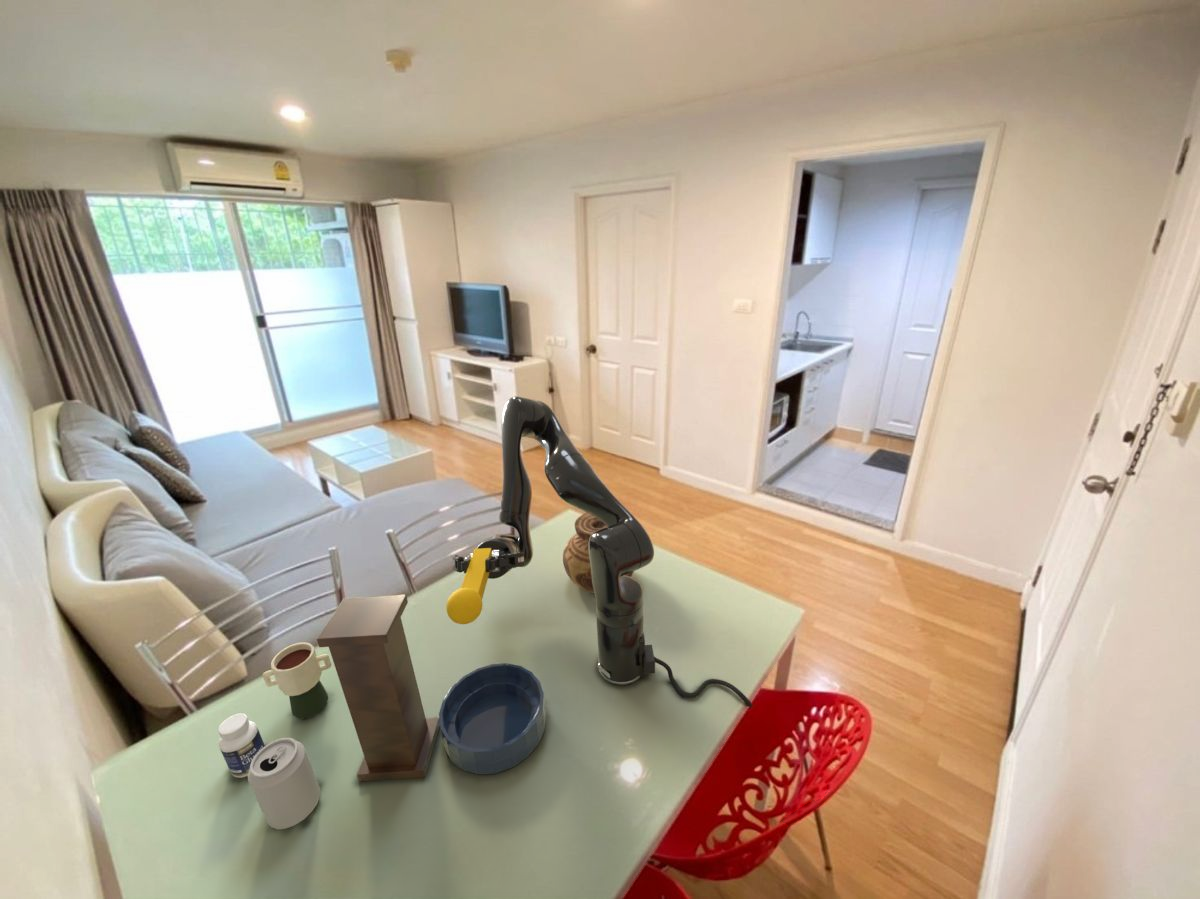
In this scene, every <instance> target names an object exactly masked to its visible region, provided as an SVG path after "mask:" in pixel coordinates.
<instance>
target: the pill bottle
mask: <svg viewBox="0 0 1200 899" xmlns="http://www.w3.org/2000/svg"><path fill="white" fill-rule="evenodd" d="M217 729H218V734H219V737H220V738H219V740H218V747H219V750H220V753H221V754H222V757H223V759H224V761H225V763H226V765H227V767H228V769H229V772H230V774H231V775H232V776H233V777H235V778H237V779H238V778H245V777H248V773H249V770H250V765H251V762H252V760H253V758H254V756H255V755H256V754H257V753H258V752H259V751H260V750H261V749H262V748H263V747H265V746H266V744H265V742H264V740H263V738H262V735H261V734H260V730H259V728H258V725H257V723H255V722H254V721H252V720H249V718H248V716H247V715H246V714H245V713H242V712H241V713H235V714H233V715H231V716H229V717H227V718H226V719H224V720H223V721H222V722H221V723H220V724H219V727H218V728H217Z"/></svg>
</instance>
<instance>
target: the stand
mask: <svg viewBox="0 0 1200 899" xmlns="http://www.w3.org/2000/svg"><path fill="white" fill-rule="evenodd" d="M408 604H409V601H408V597H407V594H396V595H395V594H392V595H377V596H359V597H344V598H343V599H342V600H341V602H340V603H339V605H338V606H337V608H336V609H335V611H334V612H333V614H332V615H331V617H330V618H329V620H328V621H327V623H326V624H325V625H324V627H323V629H322V630H321V631H320V633H319V634H318V636H317V638H316V642H317V645H318V647H319V648H328V651H329V653H330V656H331V659H332V661H333V662H332V663H333V665H334V668H335V671H336V674H337V678H338V681H339V683H340V686H341V690H342V694H343V695H344V698H345V702H346V705H347V707H348V712H349V714H350V717H351V720H352V723H353V725H354V730H355V732H356V735H357V736H356V737H357V739H358V742H359V744H360V748H361V751H362V753H363V759H362V762H361V765H360V767H359V768H358V772H357V773H356V777H357V780H358V782H367V781H368V782H369V781H382V780H383V781H384V780H396V779H397V780H398V779H414V778H426V774H427V772H428V768H429V765H430V761H431V758H432V754H433V751H434V748H435V744H436V741H437V738H438V734H439V731H440V722H439V717H427V718H426V714H425V710H424V705H423V702H422V698H421V694H420V689H419V684H418V682H417V677H416V674H415V669H414V665H413V661H412V657H411V653H410V649H409V646H408V645H409V644H408V641H407V637H406V633H405V628H404V625H403V621H402V616H403V613H404V612H405V610H406V608H407V605H408Z"/></svg>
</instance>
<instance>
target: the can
mask: <svg viewBox="0 0 1200 899" xmlns="http://www.w3.org/2000/svg"><path fill="white" fill-rule="evenodd" d="M247 781H248V785H249V786H250V788H251V791H252V793H253V794H254V797H255V799H256V802H257V803H258V805H259V808H260V810H261V812H262V814H263V816H264V818H265V820H266V823H267V824H268V825H269V826H270V828H272V829H275V830H286V829H288V828H291V827H294V826H296V825H298V824H299V823H301V822H303V821H304V820H305V819H306V818H307V817H309V815H310V814H311V813H312V812H313V811H314V809H315V808H316V807H317V805H318V803H319V800H320V799H321V791H322V789H321V787H320V784H319V782H318V779H317V776H316V774H315V771H314V768H313V766H312V764H311V761H310V758H309V755H308V752H307V751H306V748H305V746H304V744H303V743H301V741H298V740H296V739H294V738H291V737H282V738H279V739H276V740H273V741H271V742H269V743H268V744H265V747H263V748H262V749H261V750H260V751H259V752H258V753H257V754H256V755H255V756H254V758H253V760H252V762H251V765H250V770H249V773H248V776H247Z"/></svg>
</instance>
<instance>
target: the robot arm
mask: <svg viewBox="0 0 1200 899" xmlns="http://www.w3.org/2000/svg"><path fill="white" fill-rule="evenodd" d="M522 438H526V439H533V440H535V441H537V443H538V444H540V446H541V447H542V449H543V450H544V451H545V456H544V457H545V458H544V463H543V464H544V466H543V468H544V469H543V470H544V475H545V478H546V479H547V481H548V483H549V484H550V486H551V488H552V489H553V490H554V492H555V494H556V495H557V496H558V497H559V498H560V499H561V500H562V501H563V502H565V503H566V504H568V505H569V506H572V507H574V508H576V509H577V510H579V511H582V512H584V513H589V514H591V515H593V516H595V517H596V518H598V519H599V520H601V521H602V522H603V523H604V524H605V525H606V526H607V527H606V528H603V529H601V530H598V531H595V532H594V533H592V534H591V536H590V538H589V544H588V549H589V559H590V566H591V575H592V584H593V589H594V593H593V594H594V597H595V598H594V599H595V613H596V630H597V632H596V634H597V652H598V664H597V669H598V671H599V674H600V676H601V677H602V678H603V679H604V680H605V681H606V682H608V683H610V684H611V685H616V686H627V685H631V684H633V683H635V682H637V681H638V680H639V679H641V678H645V677H646V675H647V674H650V675H651V674H656V664H657V665H660V666H661V667H663V668H664V670H666V673H667V675H668V679H669V681H670V683H671V684H672V686H673V688H674V690H675V691H676V692H677V693H678V695H680V696H682V697H685V698H688V699H690V698H691V699H694V698H696V697H698V696H699V695H701V694H702V692H703V691H704V690H705V689H706V687H707V686H709V685H720V686H724V687H726V688H728V689H730V690H731V691H732V692H734V693H735V695H737V696H738V697H739V698H740V700H742V701H743V702H744V703H745V705H746V706H747V707H748V708H754V704H753V703H752V702H751V700H749V698H748V697H747V696H746V695H745V694H744V693H743V692H742V691H741V690H740V689H738V687H737V686H734V685H733V684H732V683H730V682H728V681H725V680H722V679H718V678H717V679H716V678H709V679H706V680H704V682H701V684H700V686H699V687H698V688H697V689H696V690H695V691H693V692H686V691H685V690H683V689H682V688H681V687H680V685H679V684H678V682H677V680H676V678H675V677H674V674H673V671H672V668H671V667H670V665H669V664H668V663H666V661H663V660H662V659H659V658H657V657H656V656H655V654H654V649H653V644H646V639H645V638H646V636H645V632H644V590H643V586H642V584H641V583H640V582H639V581H638V580H637V579H636V578H633V577H632V576H631V577H630V576H626V574H628V573H631V572H633V571H634V572H635V571H638V570H640V569H643V568H644V567H646V566H648V565H649V564H650V563H652V562H653V560H654V557H655V549H654V544H653V542H652V539H651V537H650V535H649V534H648V532H647V530H646V529H645V527H644V526H643V525H642V524H641V522H640V521H639V520H638V519H637V518H636V517H635V516H634V515H633V514H632V513H631V512H630V511H629V510H628V509H627V507H625V505H624V504H622V502H620V500H619V499H618V498H617V497H616V496H615V495H614V493H613V492H612V491H610V489H609V488H608V486H607V485H606V484H605V483H604V481H603V480H602V479H601V478H600V477H599V475H598V474H597V472H596V471H595V470H594V468H593V466H592V465H591V464H590V462H589V461H588V459H586V457H585V456H584V455H583V454H582V453H581V452H580V450H579V449H578V448H577V446H576V445H575V444H574V442H573V441H572V440H571V438H570V437H569V435H568V434H567V432H566V431H565V430H564V428H563V426H562V425H561V423H560V421H559V420H558V418H557V415H556V413H555V412H554V411H553V409H552V408H551V407H550V406H549V405H548V404H547V403H546V402H544V401H542V400H536V399H532V398H527V397H522V396H518V395H516V396H512V397H509V399H508V400H507V401H506V402H505V404H504V406H503V409H502V414H501V454H502V487H501V488H502V490H501V497H500V498H501V499H500V506H499V514H498V515H499V517H498V518H499V523H501V524H502V525H505V526H508V527H511V528H513V529H515V531H516V532H517V533H518V535H512V534H510V535H509V534H504V533H503V534H501V533H499V534H494V535H493V536H492V537H491V538H490V539H487V540H484V541H482V542H480V544H478V546H477V547H476V548H475V549H481V548H491V550H492V557H489V558H487V559H485V567H486V572H490V573H489V576H488V580H495V579H499V578H501V577H503V576H505V575H506V574H507V573H509V572H510V571H511V570H512V569H515V568H526V567H527V566H529V565H530V563H531V562H532V560H533V557H534V547H533V541H532V534H531V528H530V526H531V524H530V519H531V518H530V515H531V509H532V508H531V507H532V498H533V489H532V488H533V487H532V482H531V478H530V477H529V474H528V472H527V470H526V467H525V464H524V460H523V457H522V446H521V444H522ZM472 554H473V552H472V553H470V555H468V556H467V557H464V556H463V555H458V554H455V555H453V556H452V570H453V571H454V572H457V573H463V574H465V575H466V572H467V569H468V566H469V564H470V561H471V557H472ZM634 572H633V573H634Z"/></svg>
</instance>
